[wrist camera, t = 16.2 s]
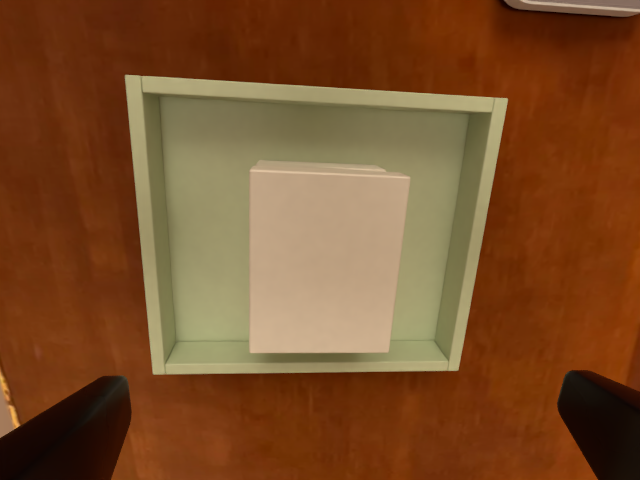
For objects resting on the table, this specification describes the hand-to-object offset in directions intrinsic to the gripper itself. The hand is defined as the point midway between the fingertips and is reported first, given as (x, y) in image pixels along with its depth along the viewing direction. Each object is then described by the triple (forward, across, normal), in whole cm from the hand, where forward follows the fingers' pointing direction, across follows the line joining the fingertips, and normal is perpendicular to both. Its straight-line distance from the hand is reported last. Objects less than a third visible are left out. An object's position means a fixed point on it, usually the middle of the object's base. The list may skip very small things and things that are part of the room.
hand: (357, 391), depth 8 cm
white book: (+8, 0, 0) cm, 8 cm away
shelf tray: (+12, 0, 0) cm, 12 cm away
